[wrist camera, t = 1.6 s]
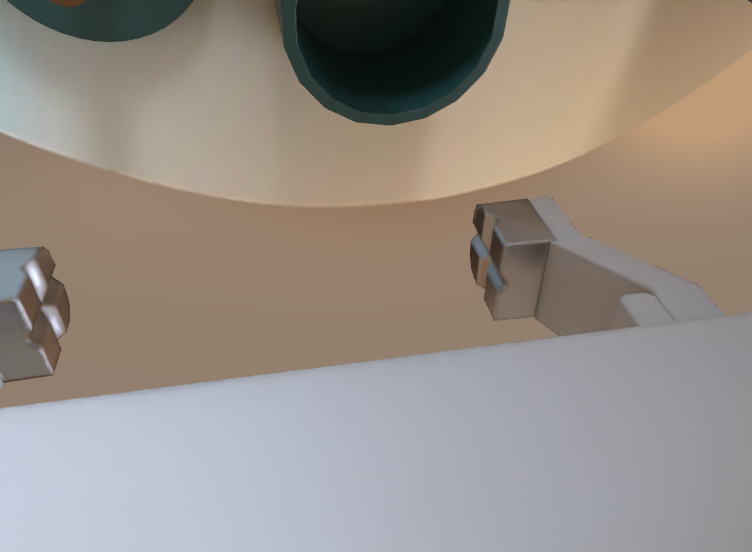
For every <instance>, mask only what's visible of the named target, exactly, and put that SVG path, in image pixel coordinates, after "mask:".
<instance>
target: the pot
mask: <svg viewBox="0 0 752 552" xmlns="http://www.w3.org/2000/svg"><path fill="white" fill-rule="evenodd" d="M509 4H510V0H275V5H276V10H277V15H278V20H279V25H280V29H281V34H282V39H283V44H284V49H285V51H286V53H287V55H288V58H289V60H290V62H291V64H292V67H293V69H294V71H295V73H296V76H297V78H298V80H299V82H300V83H301V84H302V85H303V86H304V87H305V88H306V89H307V90H308V91H309V92H310V93H311V94H312V95H313V96H314V97H315V98H316V99H317V100H318V101H319V102H320V103H321V104H322V105H323V106H324V107H325V108H327V109H329V110H331V111H333V112H335V113H337V114H339V115H342V116H344V117H346V118H348V119H350V120H352V121H355V122H359V123H369V124H379V125H396V124H400V123H405V122H409V121H414V120H419V119H423V118H425V117H428V116H430V115H432V114H434V113H435V112H437V111H439V110H441V109H443V108H444V107H446V106H448V105H450V104H452V103H453V102H455V101H457V99H459V98H460V97H461V96H462V95H463V94H464V93H465V92H466V91H467V90H468V89H469V88H470V87H471V86H472V85H473V84H474V83H475V82H476V81H477V80H478V79H479V78H480V77H481V76H482V75H483V72H485V71H486V69H487V67H488V65H489V63H490V61H491V59H492V58H493V56H494V54H495V52H496V50H497V48H498V46H499V45H500V43H501V41H502V38H503V35H504V30H505V25H506V19H507V14H508V9H509Z"/></svg>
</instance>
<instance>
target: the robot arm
mask: <svg viewBox="0 0 752 552" xmlns="http://www.w3.org/2000/svg"><path fill="white" fill-rule="evenodd" d="M473 224H474V226H475V228H476V229H477V232H478V233H477V234H476V235H475V236H474V238H473V239H472V240H471V245H470V263H471V270H472V273H473V277H474V279H475V281H476V284H477V285H478V286H480V287H482V288H484V289H485V293H484V301H485V303H486V305H487V307H488V309H489V311H490V313H491V315H492V317H493V319H494V321H497V320H507V319H518V318H528V317H535V319H537V320H538V321H539V322H541V323H542V324H543V325H545V326H546V327H547V328H549V329H550V330H552V331H553V332H554V333H556V334H557V335H558V337H551V338H543V339H535V340H528V341H519V342H512V343H505V344H496V345H489V346H481V347H473V348H466V349H457V350H450V351H442V352H434V353H426V354H419V355H411V356H404V357H396V358H388V359H380V360H372V361H365V362H358V363H349V364H341V365H335V366H327V367H318V368H310V369H303V370H295V371H288V372H279V373H272V374H264V375H256V376H249V377H242V378H241V377H240V378H233V379H225V380H217V381H210V382H202V383H194V384H187V385H179V386H171V387H163V388H155V389H147V390H140V391H132V392H124V393H116V394H109V395H101V396H93V397H85V398H77V399H70V400H62V401H55V402H46V403H39V404H31V405H23V406H15V407H8V408H0V552H752V312H746V313H738V314H730V315H725V314H724V313H723V312H722V311H721V310H720V309H719V307H718V306H717V305H716V304H715V303H714V302H713V301H712V300H711V299H710V298H709V297H708V295H707V294H706V293H705V292H704V291H703V290H702V289H701V288H700V286H699V285H698V284H696V283H693V282H691V281H689V280H686V279H684V278H682V277H680V276H677V275H675V274H673V273H670V272H668V271H666V270H664V269H661V268H659V267H657V266H655V265H652V264H650V263H648V262H645V261H643V260H641V259H638V258H636V257H634V256H632V255H630V254H627V253H625V252H623V251H620V250H618V249H616V248H613V247H611V246H609V245H607V244H604V243H602V242H600V241H597V240H595V239H593V238H583V236H582V235H581V234H580V233H579V231H578V230H577V229H576V227H575V226H574V225H573V223H572V222H571V221H570V219H569V218H568V217H567V216H566V214H565V213H564V212H563V210H562V209H561V208H560V206H559V205H558V204H557V202H556V201H555V200H554V198H553V197H551V196H548V195H547V196H540V197H532V198H525V199H518V200H511V201H502V202H494V203H485V204H477V205H476V208H475V211H474V217H473ZM54 268H55V263H54V260H53V259H52V256H51V254H50V252H49V250H47V249H46V248H45V247H43V246H42V247H30V248H18V249H4V250H0V389H1V387H3V385H4V384H3V383H5V382H11V381H18V380H25V379H31V378H39V377H45V376H51V375H54V372H55V369H56V365H57V362H58V359H59V356H60V352H61V347H60V345H59V342H58V339H59V338H60V337H62V336H63V335H64V334H65V333H66V332H67V329H68V326H69V322H70V305H69V300H68V296H67V293H66V290H65V287H64V285H63V284H62V283H61V282H59V281H58V280H56V279H55V278H53V277H52V274H53V271H54Z"/></svg>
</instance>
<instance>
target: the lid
mask: <svg viewBox="0 0 752 552" xmlns="http://www.w3.org/2000/svg"><path fill="white" fill-rule="evenodd" d="M7 1H9V2H10V3H11V4H12V5H13V6H15V7H16V8H17V9H18V10H20V11H21V12H23V13H24V14H26V15H28V16H29V17H31V18H32V19H34V20H36V21H37V22H39V23H41V24H43V25H45V26H47V27H49V28H51V29H54V30H56V31H59V32H61V33H63V34H67V35H70V36H74V37H77V38H81V39H87V40H92V41H104V42H116V41H127V40H133V39H138V38H141V37H144V36H147V35H150V34H153V33H155V32H157V31H159V30H161V29H163V28H165V27H166V26H168V25H169V24H171V23H172V22H173V21H175V20H176V19H177V18H178V17H179V16H180V15H181V14H182V13H183V12H185V10H186V9H187V8H188V7H189V5H190V4H191V3H192V2H193V0H7Z"/></svg>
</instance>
